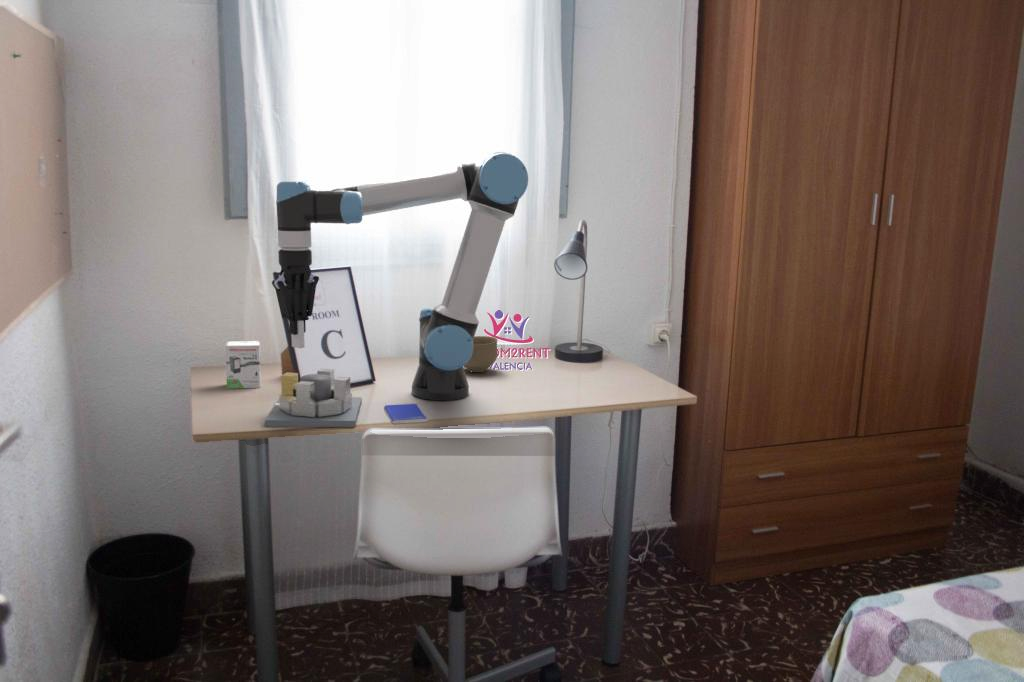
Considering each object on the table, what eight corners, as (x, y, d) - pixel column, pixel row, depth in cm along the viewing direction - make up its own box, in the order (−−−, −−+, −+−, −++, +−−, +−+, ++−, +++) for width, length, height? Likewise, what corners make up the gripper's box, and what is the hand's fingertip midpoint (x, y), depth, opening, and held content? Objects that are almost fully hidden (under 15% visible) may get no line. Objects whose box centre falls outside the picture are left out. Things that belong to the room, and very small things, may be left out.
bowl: (453, 366, 250) (454, 334, 248) (495, 367, 251) (496, 335, 249) (454, 376, 237) (455, 342, 235) (498, 377, 239) (499, 343, 237)
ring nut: (297, 395, 204) (297, 366, 203) (358, 400, 202) (358, 371, 200) (270, 413, 189) (270, 381, 187) (336, 418, 187) (336, 387, 185)
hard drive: (427, 417, 193) (416, 403, 205) (392, 419, 191) (384, 405, 202) (427, 423, 194) (416, 409, 205) (392, 425, 191) (384, 411, 203)
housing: (361, 402, 207) (361, 368, 205) (355, 427, 187) (355, 389, 185) (280, 402, 204) (279, 367, 203) (265, 426, 185) (264, 388, 183)
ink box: (226, 389, 214) (225, 345, 212) (227, 384, 219) (226, 341, 216) (260, 388, 217) (259, 344, 214) (260, 383, 221) (259, 340, 219)
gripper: (304, 245, 199) (307, 340, 203) (262, 249, 188) (266, 349, 193) (326, 247, 195) (329, 344, 200) (285, 251, 184) (288, 353, 189)
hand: (298, 347), depth 196 cm, fingers closed
